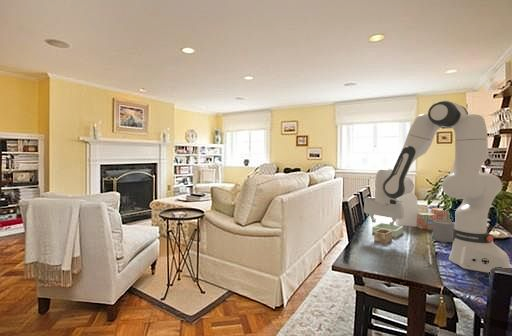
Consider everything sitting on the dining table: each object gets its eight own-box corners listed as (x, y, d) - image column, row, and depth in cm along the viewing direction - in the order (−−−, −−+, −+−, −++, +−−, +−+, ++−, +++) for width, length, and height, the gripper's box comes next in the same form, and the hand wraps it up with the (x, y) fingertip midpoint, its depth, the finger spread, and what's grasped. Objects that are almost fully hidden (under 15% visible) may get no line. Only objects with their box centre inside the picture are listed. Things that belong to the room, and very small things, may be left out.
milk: (417, 226, 181) (419, 186, 179) (398, 225, 184) (399, 185, 183) (413, 222, 192) (414, 184, 191) (395, 221, 196) (396, 183, 194)
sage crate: (403, 233, 166) (403, 226, 166) (395, 237, 157) (395, 230, 157) (380, 229, 175) (380, 222, 175) (372, 233, 166) (372, 226, 166)
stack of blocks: (421, 229, 174) (422, 210, 174) (416, 227, 181) (417, 208, 180) (456, 230, 174) (457, 210, 173) (450, 227, 180) (450, 208, 179)
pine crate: (391, 239, 154) (391, 230, 153) (385, 243, 147) (386, 234, 147) (380, 237, 158) (380, 228, 157) (374, 241, 151) (374, 231, 151)
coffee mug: (433, 241, 152) (434, 222, 151) (431, 236, 160) (432, 218, 160) (464, 244, 146) (465, 225, 145) (460, 239, 155) (460, 221, 154)
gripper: (362, 197, 156) (361, 221, 157) (401, 202, 142) (400, 229, 143) (366, 195, 161) (365, 219, 162) (405, 200, 147) (404, 226, 148)
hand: (382, 223), depth 153 cm, fingers open, 8 cm apart
